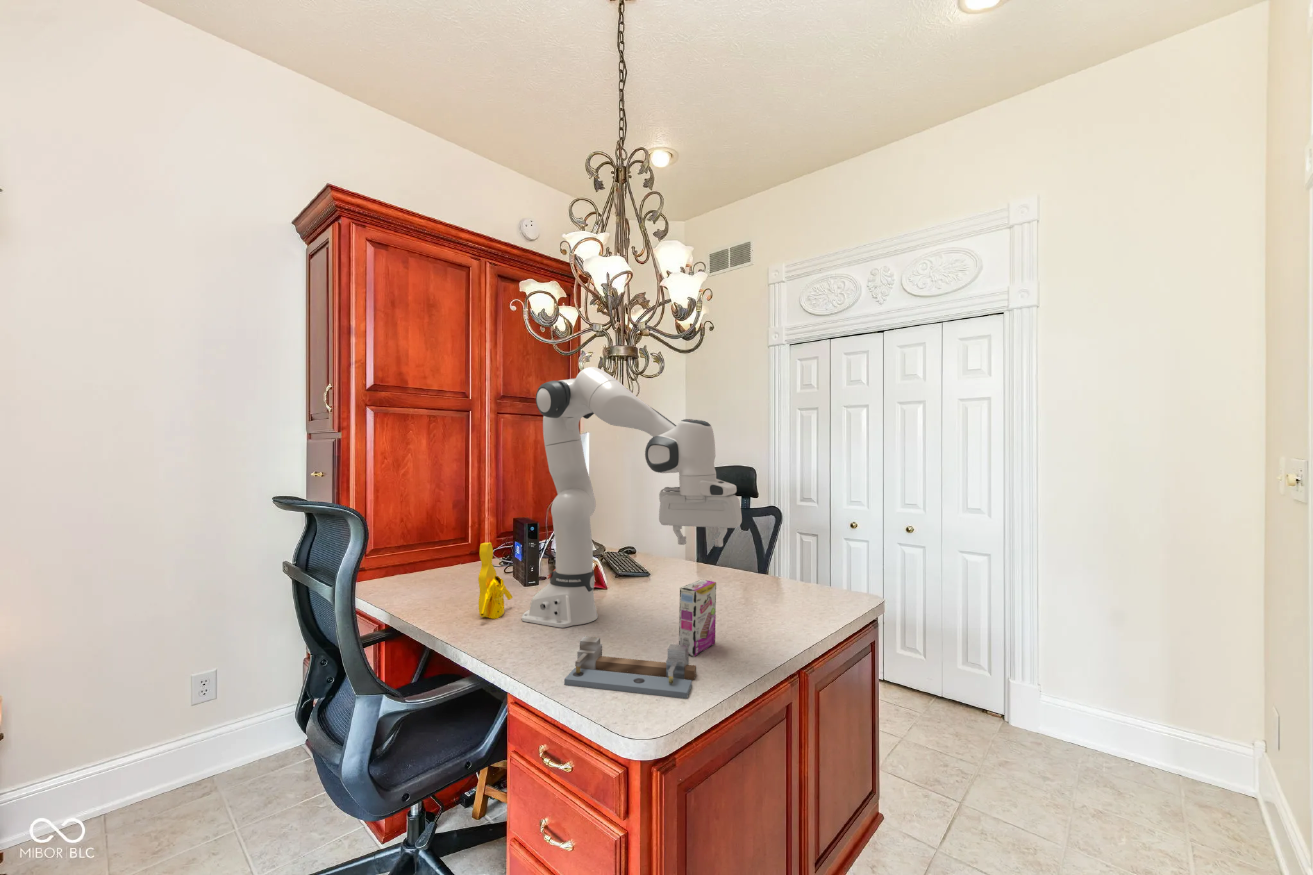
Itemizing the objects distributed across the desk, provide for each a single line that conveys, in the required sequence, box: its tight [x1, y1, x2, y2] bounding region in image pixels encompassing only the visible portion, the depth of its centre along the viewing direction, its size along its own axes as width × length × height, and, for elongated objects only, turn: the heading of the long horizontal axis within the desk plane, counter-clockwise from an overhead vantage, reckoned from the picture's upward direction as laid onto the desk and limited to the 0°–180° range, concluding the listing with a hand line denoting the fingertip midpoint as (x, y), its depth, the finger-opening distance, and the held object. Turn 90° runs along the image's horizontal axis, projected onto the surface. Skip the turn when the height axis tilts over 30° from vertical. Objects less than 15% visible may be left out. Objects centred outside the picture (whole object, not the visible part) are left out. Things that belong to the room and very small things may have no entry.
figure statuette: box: [477, 542, 514, 620], centre depth 163 cm, size 18×8×22 cm, turn 167°
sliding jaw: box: [665, 643, 690, 683], centre depth 118 cm, size 4×11×6 cm, turn 167°
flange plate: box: [563, 667, 693, 700], centre depth 116 cm, size 27×6×1 cm, turn 77°
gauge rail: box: [574, 635, 697, 681], centre depth 121 cm, size 27×11×6 cm, turn 77°
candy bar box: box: [678, 579, 717, 658], centre depth 137 cm, size 11×5×16 cm, turn 146°
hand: (700, 545), depth 127 cm, fingers open, 8 cm apart
